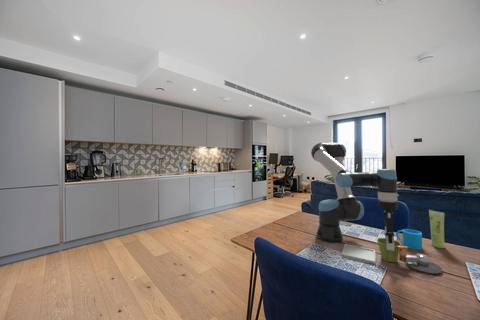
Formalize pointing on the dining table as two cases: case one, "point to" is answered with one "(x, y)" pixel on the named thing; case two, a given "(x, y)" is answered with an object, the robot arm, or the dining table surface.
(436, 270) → the crank plate
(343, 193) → the robot arm
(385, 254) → the plant pot
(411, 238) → the mug
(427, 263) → the crank
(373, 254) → the tray
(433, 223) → the tube
